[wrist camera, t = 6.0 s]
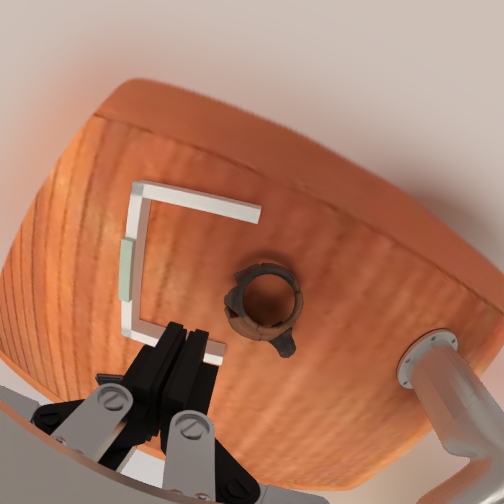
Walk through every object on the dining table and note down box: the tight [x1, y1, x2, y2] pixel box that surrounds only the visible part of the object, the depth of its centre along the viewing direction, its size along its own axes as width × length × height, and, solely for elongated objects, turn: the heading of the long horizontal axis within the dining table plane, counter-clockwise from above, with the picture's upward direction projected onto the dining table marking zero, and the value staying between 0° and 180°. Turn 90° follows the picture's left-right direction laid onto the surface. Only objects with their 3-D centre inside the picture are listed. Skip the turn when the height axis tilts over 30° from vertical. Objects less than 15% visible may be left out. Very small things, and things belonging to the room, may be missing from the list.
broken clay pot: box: [224, 263, 303, 358], centre depth 32 cm, size 12×10×8 cm
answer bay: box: [118, 180, 261, 365], centre depth 31 cm, size 14×21×4 cm
